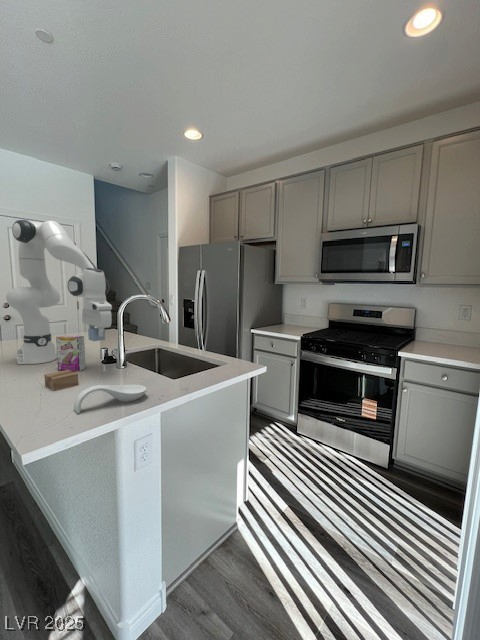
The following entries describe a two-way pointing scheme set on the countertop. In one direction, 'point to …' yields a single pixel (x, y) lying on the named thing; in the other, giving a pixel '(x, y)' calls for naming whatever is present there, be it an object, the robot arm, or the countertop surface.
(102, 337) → the slate blue cube
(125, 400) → the spoon rest
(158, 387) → the countertop surface
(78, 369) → the candy bar box
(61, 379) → the walnut block
